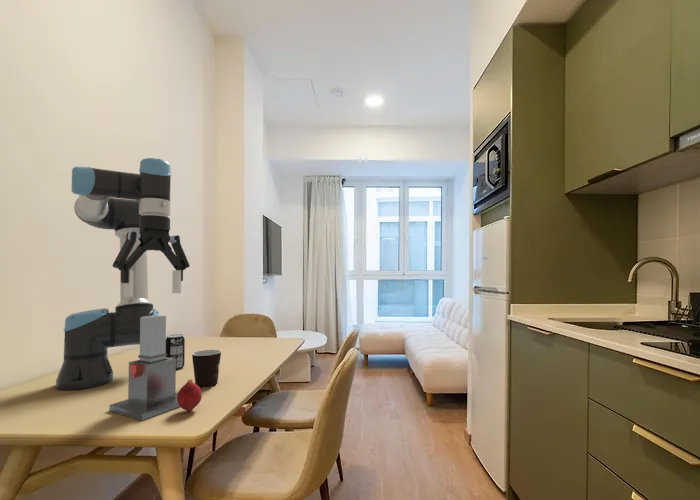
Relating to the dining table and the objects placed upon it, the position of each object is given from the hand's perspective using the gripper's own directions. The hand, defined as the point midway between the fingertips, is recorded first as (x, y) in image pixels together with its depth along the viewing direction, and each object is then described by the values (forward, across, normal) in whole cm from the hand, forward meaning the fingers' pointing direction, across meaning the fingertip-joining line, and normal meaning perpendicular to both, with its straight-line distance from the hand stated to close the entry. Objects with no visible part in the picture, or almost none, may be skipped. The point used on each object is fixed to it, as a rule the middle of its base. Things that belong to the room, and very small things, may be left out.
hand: (153, 294), depth 99 cm
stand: (+29, 0, 0) cm, 29 cm away
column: (+28, 0, 0) cm, 28 cm away
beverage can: (+29, +28, +30) cm, 51 cm away
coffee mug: (+30, +21, +3) cm, 37 cm away
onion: (+30, +2, -12) cm, 32 cm away
